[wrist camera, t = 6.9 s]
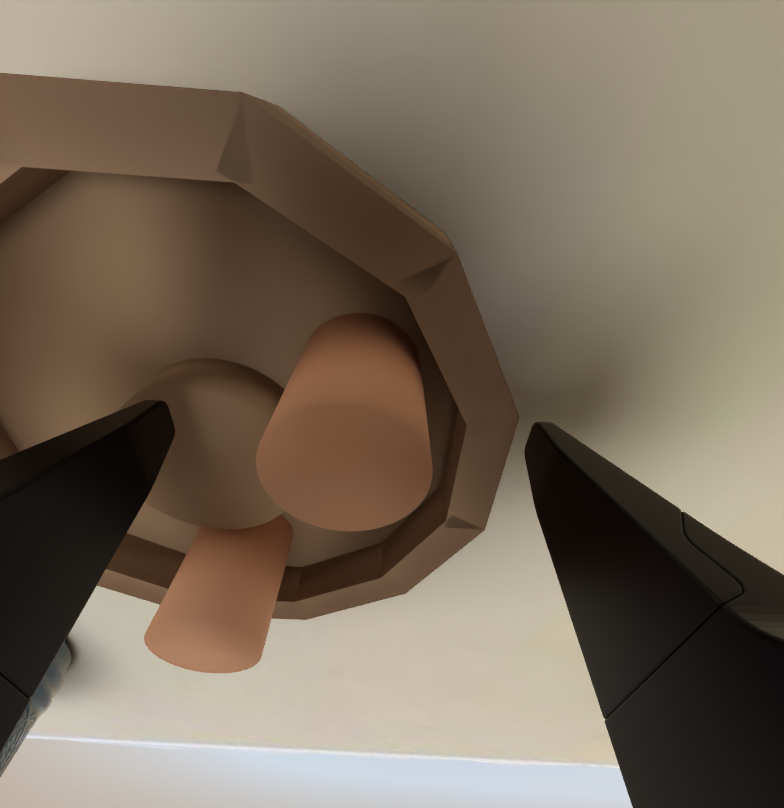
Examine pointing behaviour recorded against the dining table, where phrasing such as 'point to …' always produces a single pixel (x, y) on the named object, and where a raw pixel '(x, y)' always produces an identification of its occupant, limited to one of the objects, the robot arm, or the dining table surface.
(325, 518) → the bead
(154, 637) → the bead
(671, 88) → the dining table surface
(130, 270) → the groove tray
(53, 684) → the canister
